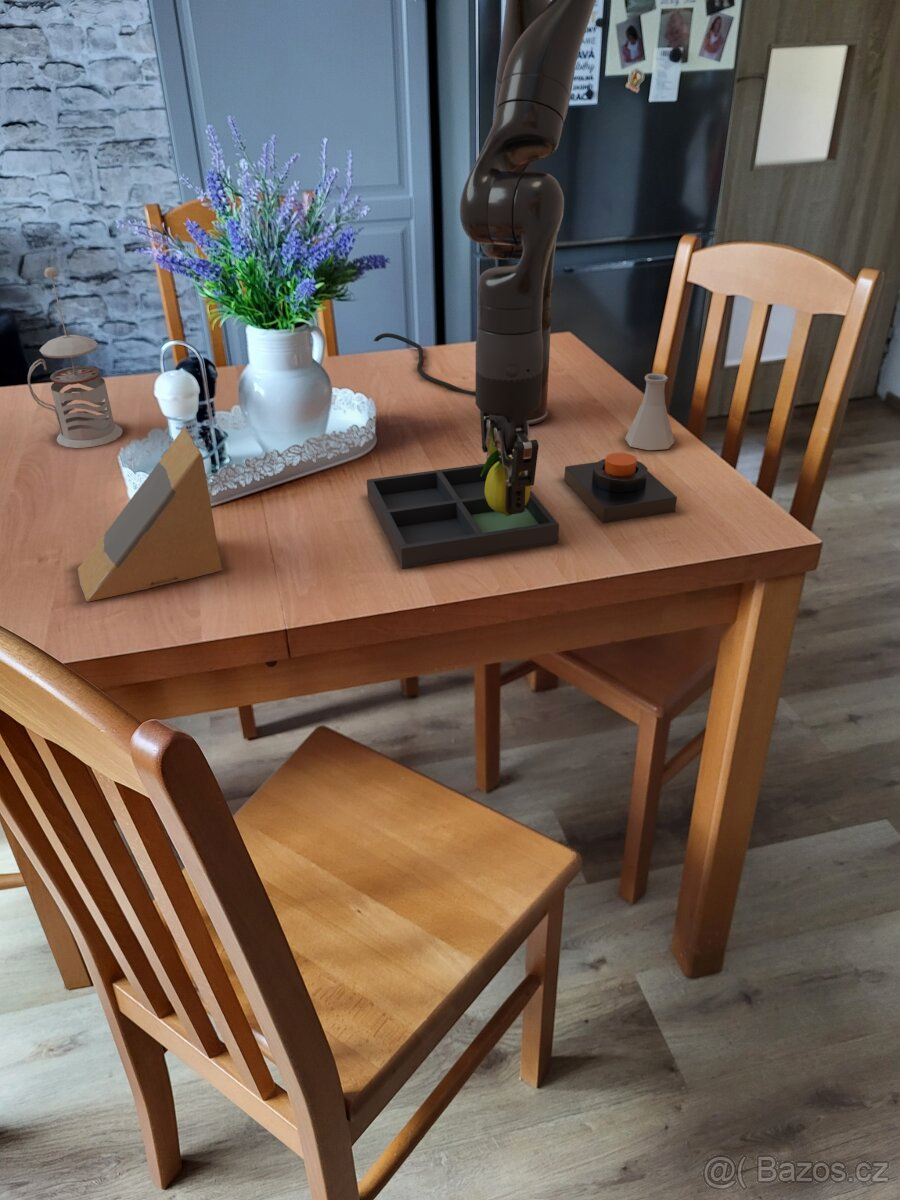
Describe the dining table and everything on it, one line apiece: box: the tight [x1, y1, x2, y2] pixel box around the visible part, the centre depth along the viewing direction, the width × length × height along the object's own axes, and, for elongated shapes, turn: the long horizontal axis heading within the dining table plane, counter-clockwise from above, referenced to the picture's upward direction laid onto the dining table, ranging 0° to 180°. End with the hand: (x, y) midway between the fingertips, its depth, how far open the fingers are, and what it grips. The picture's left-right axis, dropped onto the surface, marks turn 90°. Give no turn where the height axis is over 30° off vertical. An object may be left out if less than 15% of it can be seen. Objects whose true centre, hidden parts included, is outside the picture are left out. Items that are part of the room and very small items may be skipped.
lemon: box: [480, 451, 531, 516], centre depth 112 cm, size 7×6×10 cm
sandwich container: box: [77, 426, 223, 603], centre depth 105 cm, size 9×15×15 cm, turn 115°
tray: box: [366, 463, 560, 570], centre depth 118 cm, size 19×19×3 cm
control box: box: [563, 458, 678, 524], centre depth 122 cm, size 13×10×4 cm
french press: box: [27, 266, 124, 449], centre depth 137 cm, size 10×12×25 cm
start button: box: [604, 452, 638, 476], centre depth 121 cm, size 4×4×2 cm
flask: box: [624, 372, 675, 451], centre depth 136 cm, size 7×7×10 cm
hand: (506, 500), depth 114 cm, fingers closed on lemon, 5 cm apart
